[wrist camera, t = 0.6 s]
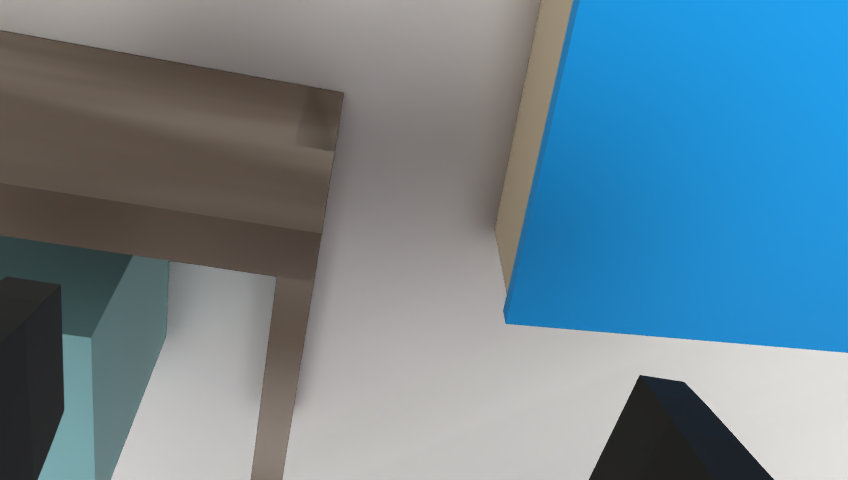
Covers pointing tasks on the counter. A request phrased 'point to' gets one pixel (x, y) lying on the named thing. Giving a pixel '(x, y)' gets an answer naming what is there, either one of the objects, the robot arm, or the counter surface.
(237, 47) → the counter surface
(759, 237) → the book
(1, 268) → the block
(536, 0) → the counter surface
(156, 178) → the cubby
